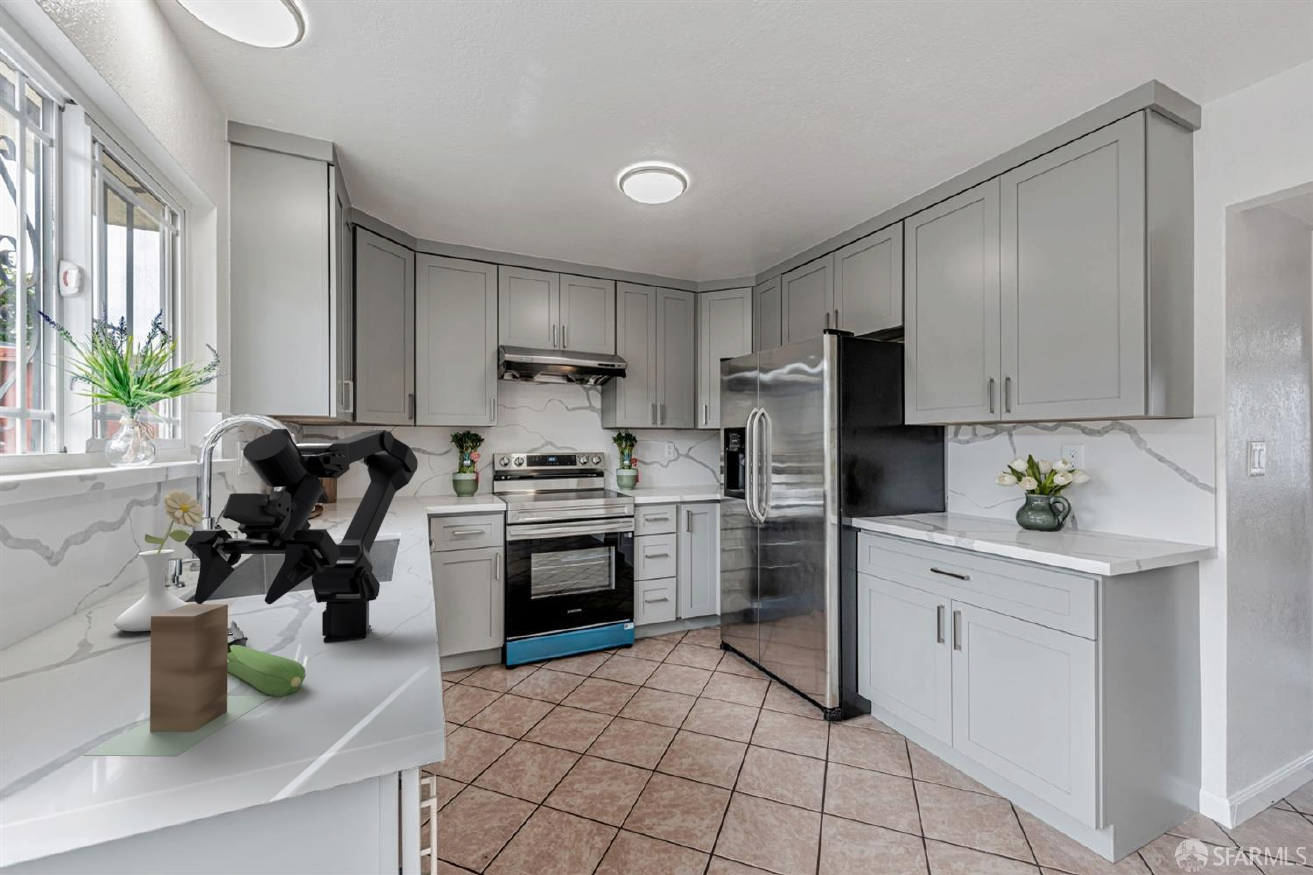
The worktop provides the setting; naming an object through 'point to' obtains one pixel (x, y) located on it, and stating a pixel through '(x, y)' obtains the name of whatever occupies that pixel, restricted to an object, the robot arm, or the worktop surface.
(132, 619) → the flower in vase
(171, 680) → the walnut post
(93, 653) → the worktop surface
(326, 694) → the worktop surface
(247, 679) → the green zucchini
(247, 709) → the sage board
